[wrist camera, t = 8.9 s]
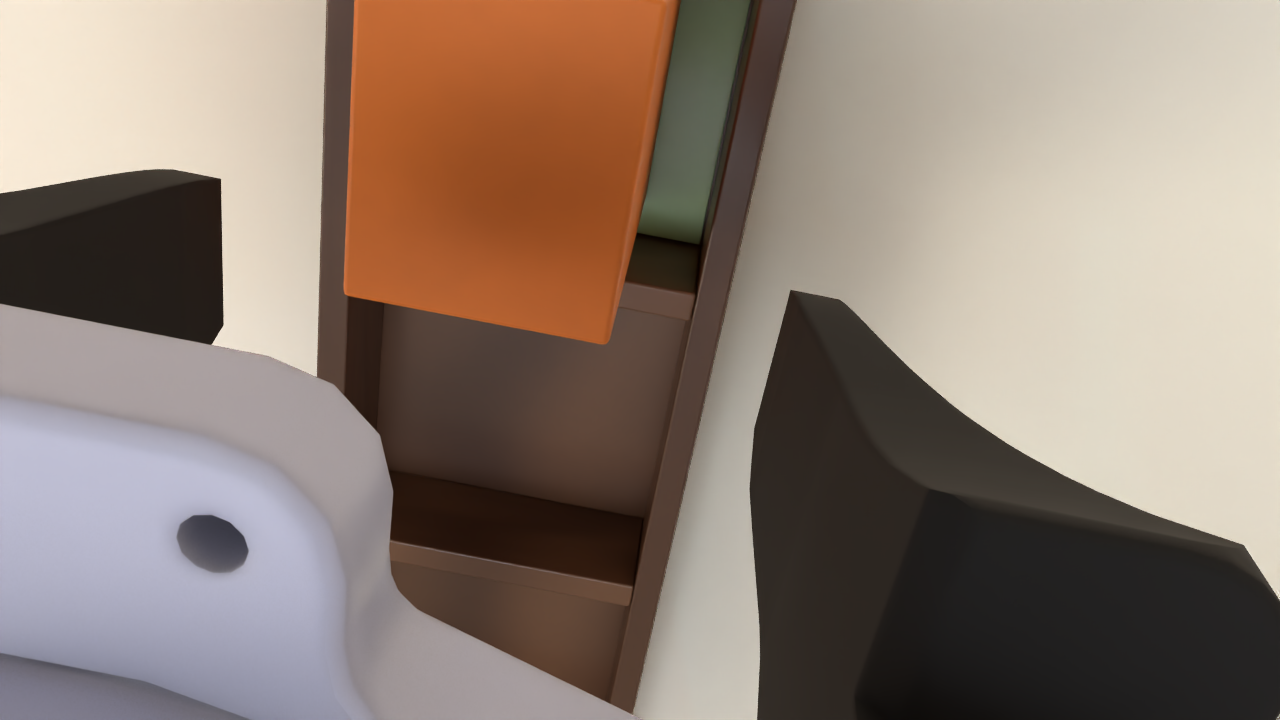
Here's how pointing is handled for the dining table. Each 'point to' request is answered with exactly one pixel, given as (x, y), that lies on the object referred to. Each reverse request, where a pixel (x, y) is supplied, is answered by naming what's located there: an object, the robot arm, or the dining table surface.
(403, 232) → the orange block
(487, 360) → the organizer
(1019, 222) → the dining table surface
